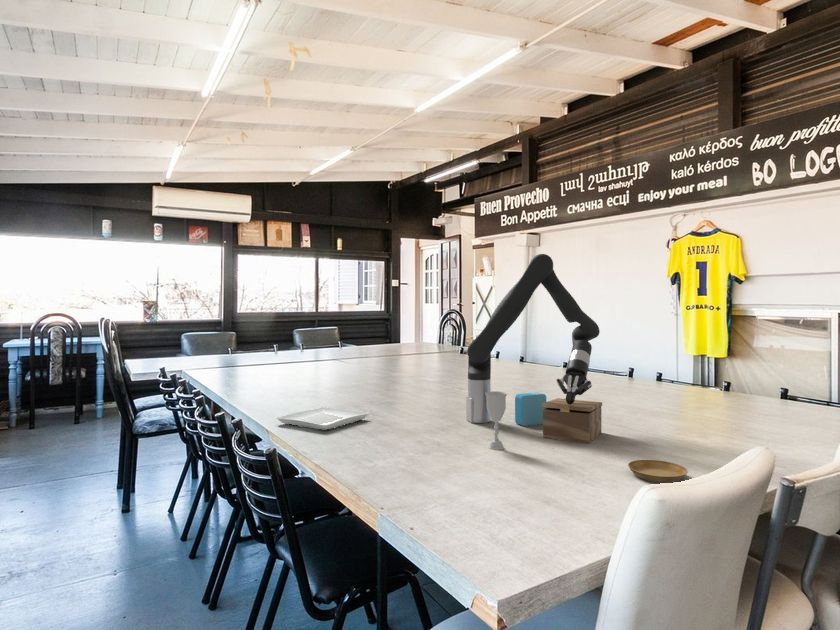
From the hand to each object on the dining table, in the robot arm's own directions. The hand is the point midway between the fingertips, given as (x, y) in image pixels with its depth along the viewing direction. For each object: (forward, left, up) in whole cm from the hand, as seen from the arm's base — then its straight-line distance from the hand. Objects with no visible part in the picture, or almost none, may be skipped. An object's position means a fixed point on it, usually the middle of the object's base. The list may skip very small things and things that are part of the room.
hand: (569, 402), depth 178 cm
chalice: (-30, -6, -13) cm, 33 cm away
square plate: (-84, +46, -13) cm, 97 cm away
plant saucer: (+2, -43, -13) cm, 45 cm away
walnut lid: (+3, +3, -3) cm, 5 cm away
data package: (-4, +23, -13) cm, 27 cm away
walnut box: (+3, +3, -12) cm, 13 cm away
